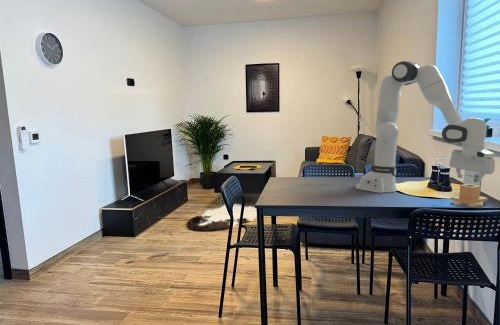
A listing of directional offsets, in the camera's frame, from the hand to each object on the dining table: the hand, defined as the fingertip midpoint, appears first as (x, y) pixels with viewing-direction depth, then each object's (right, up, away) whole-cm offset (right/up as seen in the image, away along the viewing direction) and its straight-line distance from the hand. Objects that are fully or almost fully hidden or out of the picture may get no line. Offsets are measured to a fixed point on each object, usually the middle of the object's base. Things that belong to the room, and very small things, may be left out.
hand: (469, 179), depth 169 cm
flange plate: (+1, -10, +2) cm, 10 cm away
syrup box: (+12, -9, +17) cm, 23 cm away
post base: (+2, -11, +3) cm, 12 cm away
